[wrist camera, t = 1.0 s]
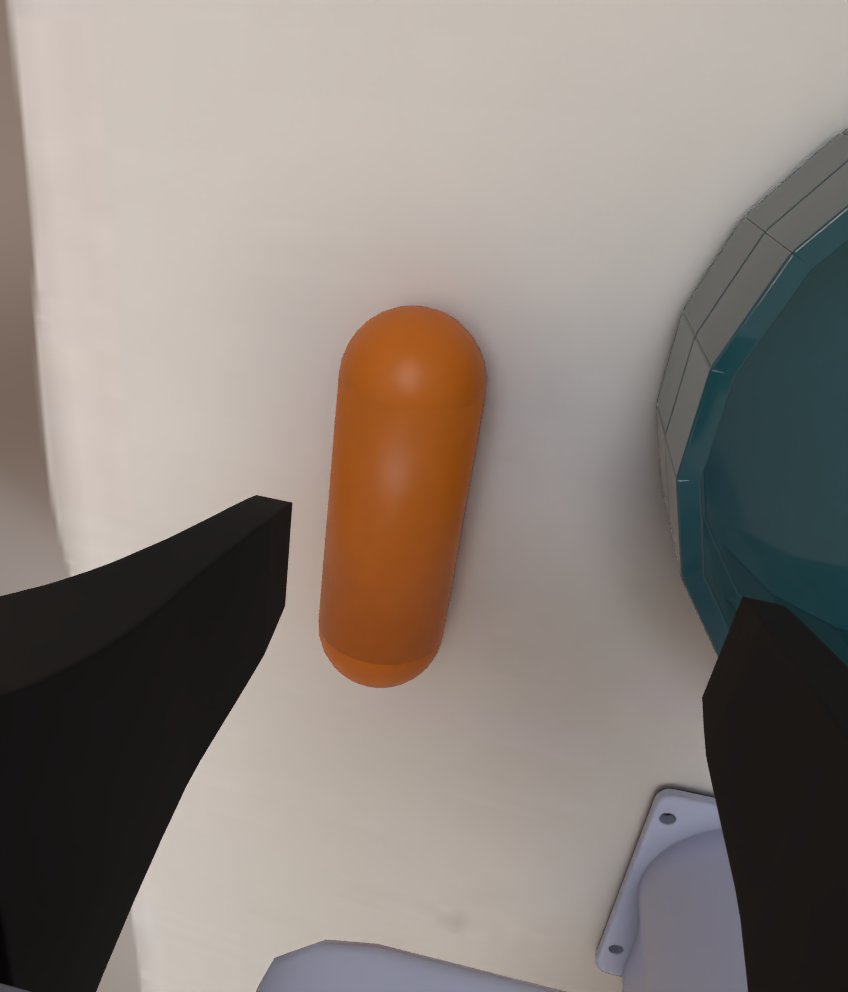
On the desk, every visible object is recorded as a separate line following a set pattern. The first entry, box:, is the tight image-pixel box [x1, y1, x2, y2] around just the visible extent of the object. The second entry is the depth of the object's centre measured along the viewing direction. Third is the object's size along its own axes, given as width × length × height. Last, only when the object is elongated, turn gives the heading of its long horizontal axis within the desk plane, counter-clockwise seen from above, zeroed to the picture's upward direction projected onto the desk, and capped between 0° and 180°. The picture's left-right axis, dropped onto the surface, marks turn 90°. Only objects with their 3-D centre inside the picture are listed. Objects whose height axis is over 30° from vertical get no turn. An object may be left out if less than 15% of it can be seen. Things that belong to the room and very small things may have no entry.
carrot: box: [319, 306, 486, 688], centre depth 21 cm, size 11×4×4 cm, turn 173°
